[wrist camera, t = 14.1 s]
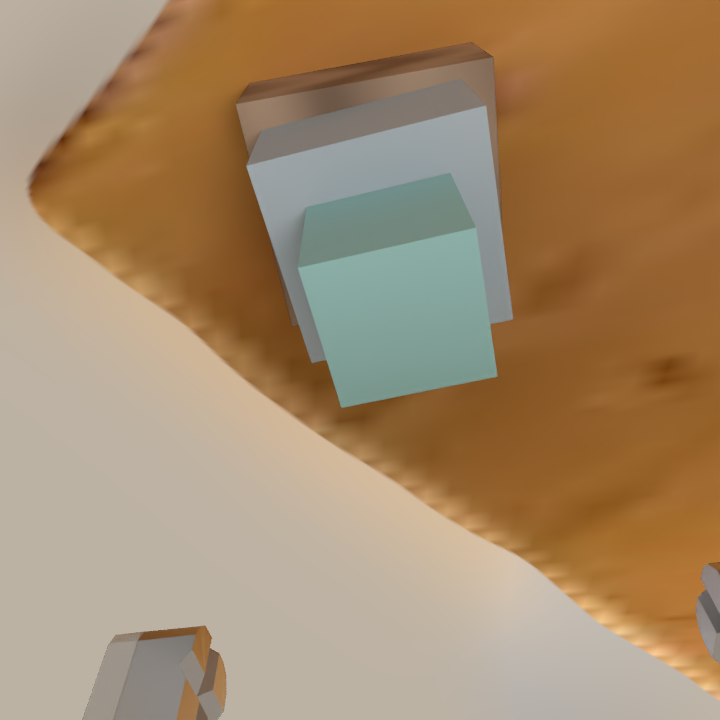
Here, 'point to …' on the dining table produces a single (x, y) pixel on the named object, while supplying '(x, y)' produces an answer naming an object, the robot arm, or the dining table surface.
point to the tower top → (380, 176)
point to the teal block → (397, 291)
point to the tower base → (366, 95)
